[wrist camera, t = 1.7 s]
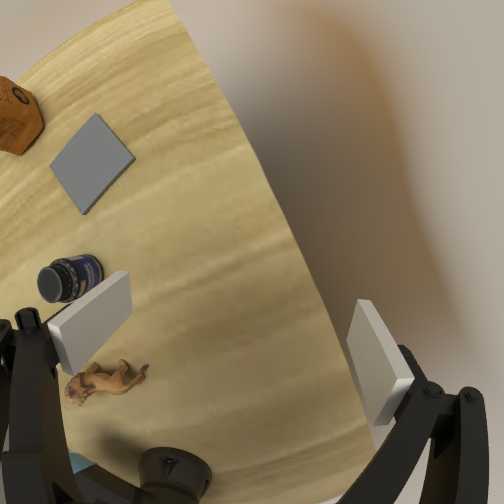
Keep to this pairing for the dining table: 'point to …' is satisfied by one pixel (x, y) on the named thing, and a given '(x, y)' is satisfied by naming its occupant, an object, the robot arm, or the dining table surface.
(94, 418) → the dining table surface
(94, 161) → the pad
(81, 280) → the pill bottle
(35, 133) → the coffee package
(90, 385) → the lion figurine
